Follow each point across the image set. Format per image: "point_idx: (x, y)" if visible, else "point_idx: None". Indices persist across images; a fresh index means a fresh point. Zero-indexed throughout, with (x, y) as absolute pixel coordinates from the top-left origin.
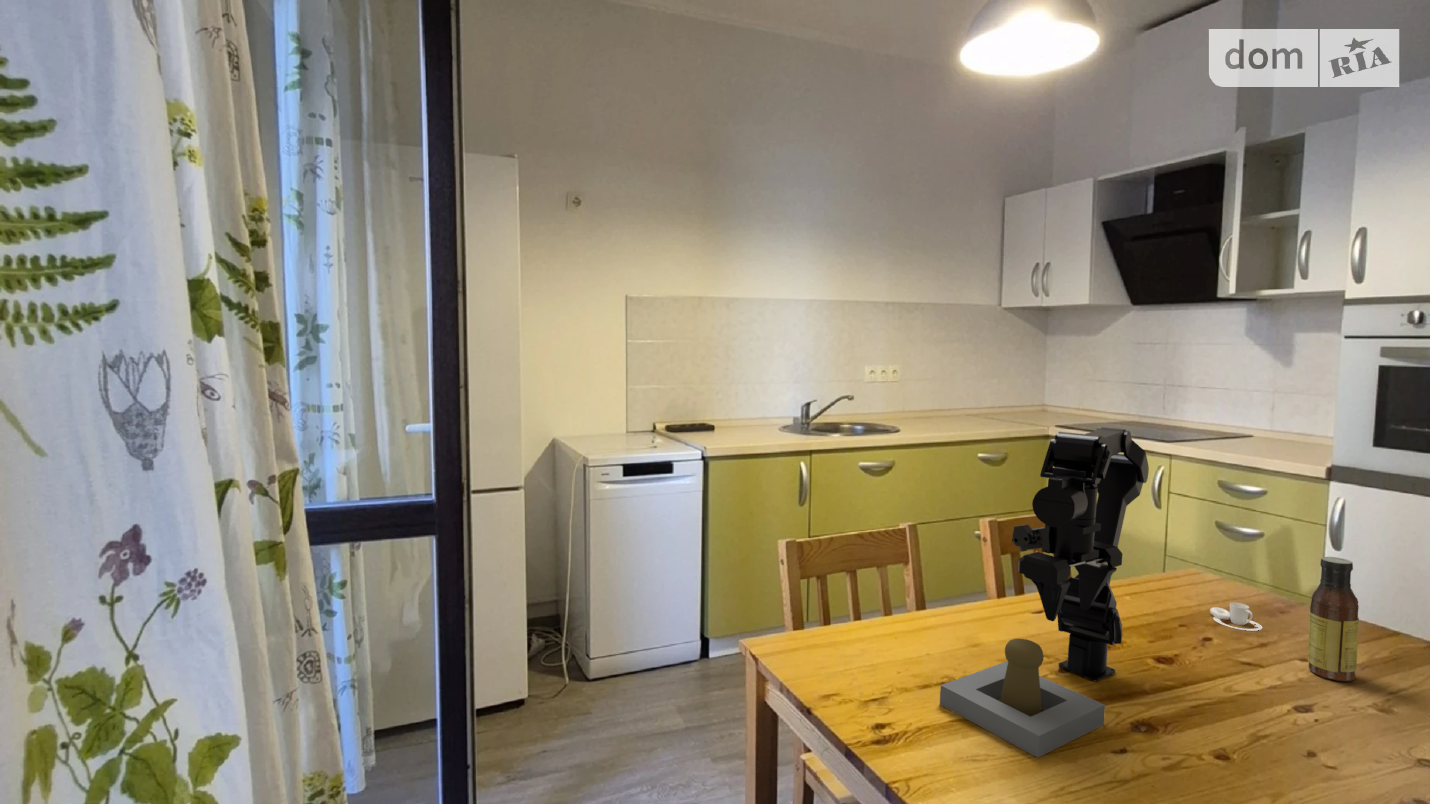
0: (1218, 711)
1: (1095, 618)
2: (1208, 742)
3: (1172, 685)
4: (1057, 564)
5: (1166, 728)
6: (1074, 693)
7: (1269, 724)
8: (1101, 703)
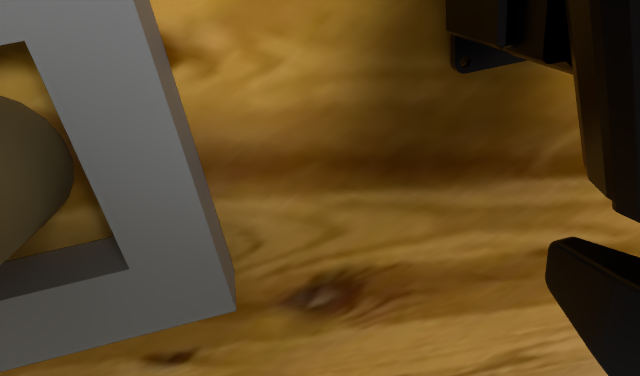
0: None
1: (622, 174)
2: (401, 360)
3: None
4: None
5: (375, 309)
6: (195, 238)
7: None
8: (231, 303)
